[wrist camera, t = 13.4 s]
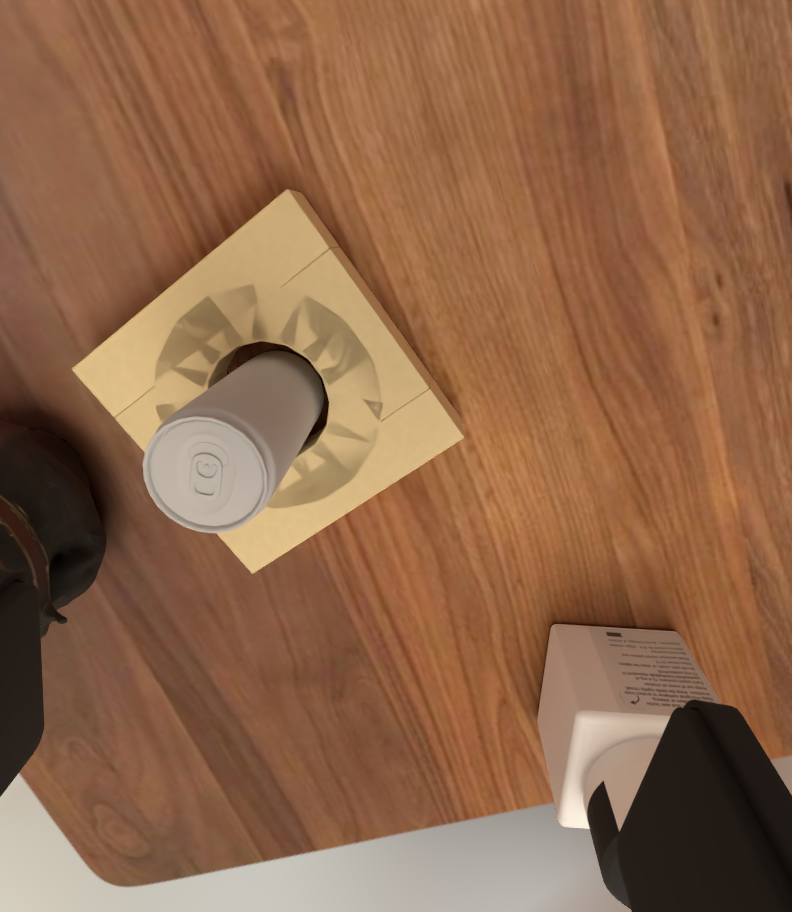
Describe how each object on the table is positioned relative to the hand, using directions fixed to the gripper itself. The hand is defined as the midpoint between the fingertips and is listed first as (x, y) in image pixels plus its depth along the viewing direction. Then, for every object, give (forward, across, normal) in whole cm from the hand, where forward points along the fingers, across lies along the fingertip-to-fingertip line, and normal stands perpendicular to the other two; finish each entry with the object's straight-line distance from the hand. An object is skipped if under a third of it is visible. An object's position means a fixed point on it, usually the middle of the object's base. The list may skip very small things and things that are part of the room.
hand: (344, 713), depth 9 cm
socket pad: (+25, +7, +3) cm, 26 cm away
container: (+25, -16, +17) cm, 34 cm away
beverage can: (+25, +7, +3) cm, 26 cm away
